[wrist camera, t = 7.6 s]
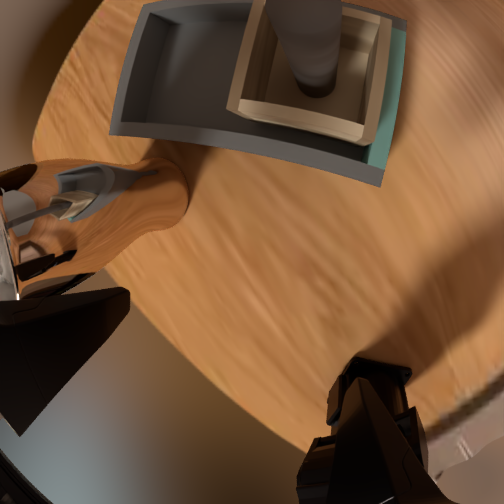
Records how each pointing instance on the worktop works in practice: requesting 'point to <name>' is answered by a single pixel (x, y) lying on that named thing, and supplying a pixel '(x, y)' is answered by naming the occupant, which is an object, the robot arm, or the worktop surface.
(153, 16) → the bay
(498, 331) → the worktop surface
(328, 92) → the crate
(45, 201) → the beer glass
